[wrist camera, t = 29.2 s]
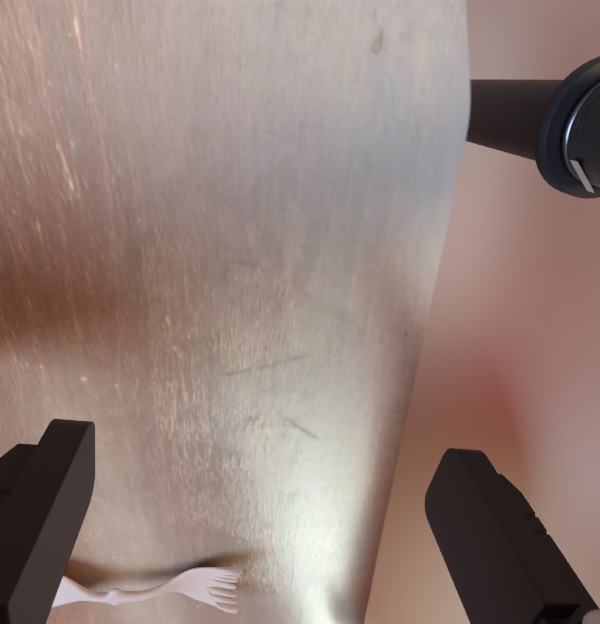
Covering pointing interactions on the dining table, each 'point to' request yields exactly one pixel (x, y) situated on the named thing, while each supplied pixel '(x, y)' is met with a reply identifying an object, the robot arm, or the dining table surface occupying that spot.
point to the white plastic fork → (164, 589)
